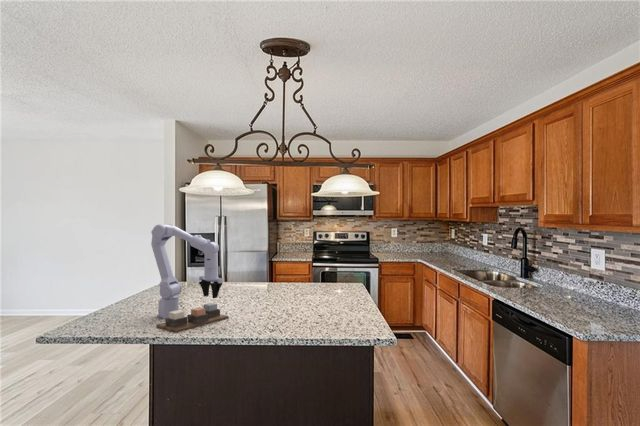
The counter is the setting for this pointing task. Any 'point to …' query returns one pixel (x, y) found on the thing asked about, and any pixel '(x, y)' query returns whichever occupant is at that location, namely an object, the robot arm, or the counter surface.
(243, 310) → the counter surface
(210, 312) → the brown socket board
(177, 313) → the cream cube
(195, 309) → the salmon pink cube
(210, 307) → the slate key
